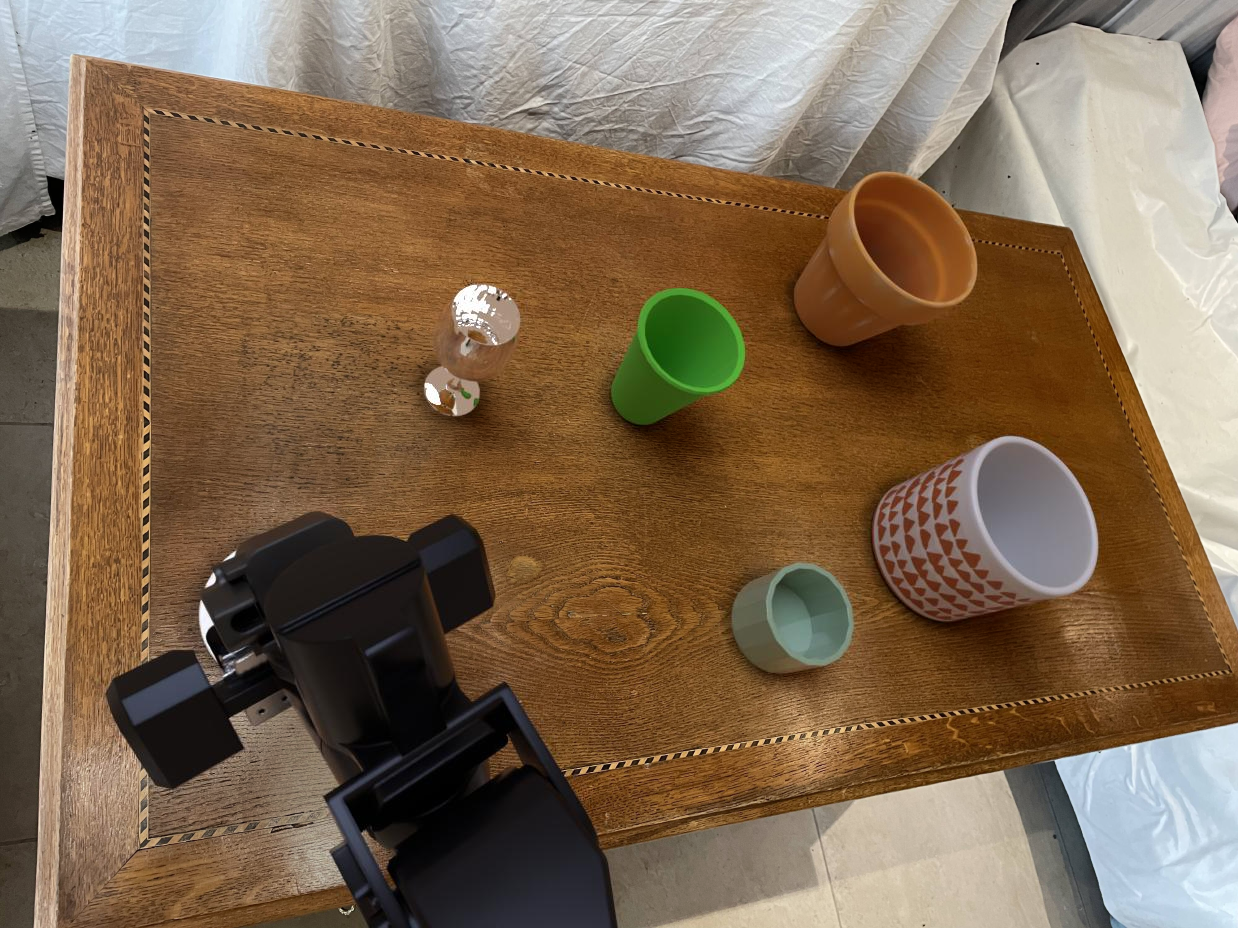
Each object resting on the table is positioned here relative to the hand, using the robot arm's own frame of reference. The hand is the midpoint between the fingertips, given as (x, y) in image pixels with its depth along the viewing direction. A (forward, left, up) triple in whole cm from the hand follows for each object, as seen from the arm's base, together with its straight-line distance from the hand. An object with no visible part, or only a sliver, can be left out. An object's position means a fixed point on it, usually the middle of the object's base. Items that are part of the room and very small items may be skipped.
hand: (274, 568), depth 47 cm
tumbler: (0, -39, -7) cm, 39 cm away
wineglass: (+17, -11, -7) cm, 21 cm away
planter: (+8, -57, -7) cm, 58 cm away
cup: (+19, -27, -7) cm, 33 cm away
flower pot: (+33, -49, -7) cm, 59 cm away
